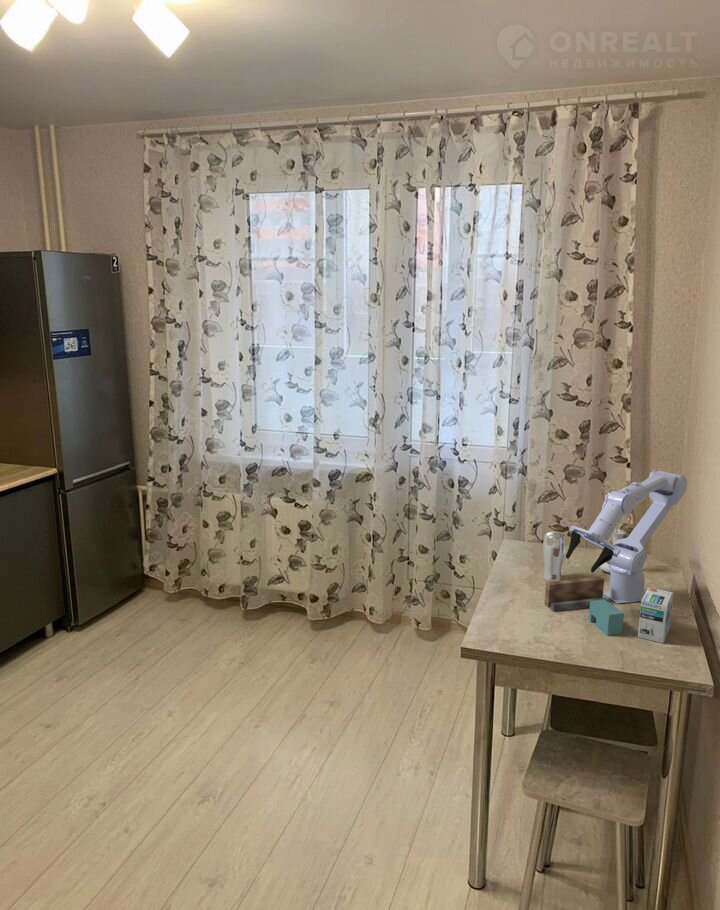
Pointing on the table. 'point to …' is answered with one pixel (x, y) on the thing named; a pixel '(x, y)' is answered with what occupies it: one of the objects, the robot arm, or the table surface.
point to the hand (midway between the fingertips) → (579, 563)
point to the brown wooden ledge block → (574, 593)
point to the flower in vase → (616, 535)
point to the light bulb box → (655, 615)
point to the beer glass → (553, 555)
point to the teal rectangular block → (606, 617)
